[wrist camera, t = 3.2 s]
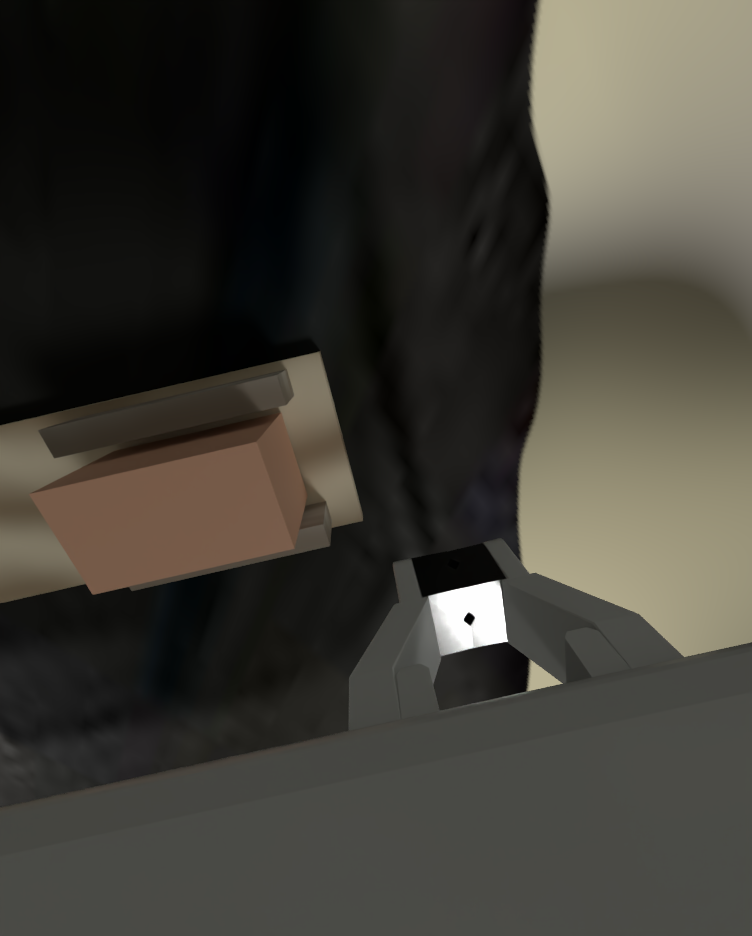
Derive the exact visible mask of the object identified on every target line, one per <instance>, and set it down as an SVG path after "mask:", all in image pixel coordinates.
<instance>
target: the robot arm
mask: <svg viewBox="0 0 752 936" xmlns="http://www.w3.org/2000/svg"><path fill="white" fill-rule="evenodd" d="M393 569H394V575H395V580H396V586H397V591H398V596H399V602H400V603H397V604H394V606H393V607H392V609H391V611H390V612H389V614H388V615H387V617H386V619H385V620H384V622H383V624H382V625H381V627H380V628H379V630H378V632H377V633H376V635H375V637H374V638H373V640H372V641H371V643H370V645H369V646H368V648H367V650H366V651H365V653H364V654H363V656H362V658H361V659H360V661H359V663H358V664H357V666H356V668H355V669H354V671H353V672H352V674H351V676H350V677H349V731H346V732H342V733H337V734H332V735H328V736H323V737H319V738H314V739H310V740H305V741H301V742H296V743H291V744H287V745H282V746H278V747H273V748H269V749H264V750H260V751H255V752H250V753H246V754H241V755H237V756H232V757H228V758H223V759H219V760H214V761H210V762H205V763H200V764H196V765H191V766H187V767H182V768H178V769H173V770H168V771H164V772H159V773H155V774H150V775H146V776H141V777H137V778H132V779H127V780H123V781H118V782H114V783H109V784H105V785H100V786H96V787H91V788H86V789H82V790H77V791H73V792H68V793H64V794H59V795H54V796H50V797H45V798H41V799H36V800H32V801H27V802H23V803H18V804H13V805H9V806H4V807H0V936H752V642H751V643H747V644H743V645H738V646H734V647H729V648H724V649H720V650H716V651H711V652H706V653H702V654H697V655H693V656H688V657H683V656H682V655H681V654H680V653H679V652H678V651H677V650H676V649H675V648H674V647H673V646H672V645H671V644H670V643H669V642H668V641H667V640H666V639H665V638H663V637H662V636H661V635H660V634H659V633H658V632H657V631H656V630H655V629H654V628H653V627H652V626H651V625H650V624H649V623H648V622H647V621H646V620H645V619H643V617H641V616H640V615H639V614H637V613H635V612H632V611H630V610H627V609H625V608H622V607H619V606H617V605H615V604H612V603H610V602H607V601H605V600H602V599H599V598H597V597H595V596H592V595H589V594H587V593H584V592H582V591H580V590H577V589H574V588H572V587H570V586H567V585H565V584H562V583H559V582H557V581H555V580H552V579H549V578H547V577H544V576H542V575H539V574H537V573H532V574H529V573H528V572H527V570H526V569H525V567H524V566H523V565H522V563H521V562H520V561H519V560H518V558H517V557H516V556H515V554H514V553H513V552H512V551H511V549H510V548H509V547H508V545H507V544H506V543H505V542H504V540H503V539H500V538H499V539H495V540H491V541H487V542H483V543H481V544H477V545H473V546H469V547H464V548H460V549H456V550H452V551H448V552H447V551H446V552H441V553H436V554H431V555H426V556H421V557H416V558H411V559H406V560H402V561H397V562H393ZM505 641H508V643H509V644H511V645H512V646H513V647H515V648H516V649H517V650H519V651H520V652H521V653H523V654H524V655H525V656H527V657H528V658H529V659H531V660H532V661H533V662H535V663H536V664H537V665H539V666H540V667H542V668H543V669H544V670H546V671H547V672H548V673H550V674H551V675H552V676H554V677H555V678H556V679H558V680H559V681H560V682H562V683H563V684H560V685H555V686H550V687H546V688H541V689H537V690H532V691H528V692H523V693H519V694H514V695H510V696H505V697H501V698H496V699H492V700H487V701H482V702H478V703H473V704H469V705H464V706H460V707H455V708H451V709H446V710H442V711H439V707H438V703H437V699H436V695H435V691H434V687H433V683H434V680H435V676H436V673H437V670H438V666H439V663H440V660H441V656H442V655H446V654H450V653H454V652H458V651H462V650H466V649H470V648H474V647H479V646H484V645H490V644H495V643H500V642H505Z"/></svg>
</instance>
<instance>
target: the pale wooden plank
mask: <svg viewBox="0 0 752 936" xmlns="http://www.w3.org/2000/svg"><path fill="white" fill-rule="evenodd" d="M276 413H282V416H283V420H284V423H285V426H286V429H287V432H288V435H289V439H290V442H291V445H292V448H293V451H294V454H295V457H296V461H297V464H298V467H299V470H300V473H301V476H302V479H303V483H304V486H305V489H306V492H307V495H308V496H307V500H306V504H305V508H304V512H303V517H302V521H301V525H300V529H299V533H298V537H297V541H296V545H295V549H291V550H287V551H283V552H278V553H274V554H269V555H265V556H261V557H256V558H252V559H247V560H243V561H239V562H234V563H230V564H225V565H221V566H217V567H212V568H208V569H203V570H199V571H195V572H190V573H186V574H181V575H177V576H173V577H168V578H164V579H160V580H155V581H151V582H146V583H142V584H138V585H133V586H129V587H130V589H131V591H134V590H138V589H143V588H147V587H151V586H156V585H160V584H165V583H169V582H173V581H178V580H182V579H187V578H191V577H195V576H200V575H204V574H209V573H213V572H217V571H222V570H226V569H231V568H235V567H239V566H244V565H248V564H253V563H257V562H261V561H266V560H270V559H275V558H279V557H283V556H288V555H292V554H297V553H301V552H305V551H310V550H314V549H318V548H323V547H327V546H330V539H331V528H332V527H337V526H341V525H346V524H350V523H354V522H359V521H363V514H362V510H361V506H360V502H359V498H358V494H357V491H356V487H355V483H354V479H353V475H352V471H351V468H350V464H349V460H348V456H347V452H346V448H345V444H344V441H343V437H342V433H341V429H340V425H339V421H338V418H337V414H336V410H335V406H334V402H333V398H332V394H331V391H330V387H329V383H328V379H327V375H326V371H325V368H324V364H323V360H322V356H321V352H320V351H319V352H315V353H311V354H306V355H302V356H298V357H293V358H289V359H285V360H280V361H276V362H272V363H267V364H263V365H259V366H255V367H250V368H246V369H242V370H237V371H233V372H229V373H224V374H220V375H216V376H211V377H207V378H203V379H198V380H194V381H190V382H185V383H181V384H177V385H172V386H168V387H164V388H159V389H155V390H151V391H146V392H142V393H138V394H134V395H129V396H125V397H121V398H116V399H112V400H108V401H103V402H99V403H95V404H90V405H86V406H82V407H77V408H73V409H69V410H64V411H60V412H56V413H51V414H47V415H43V416H38V417H34V418H30V419H26V420H21V421H17V422H13V423H8V424H4V425H0V603H3V602H7V601H12V600H16V599H21V598H25V597H29V596H34V595H38V594H43V593H47V592H51V591H56V590H60V589H65V588H69V587H73V586H78V585H82V584H86V583H85V582H84V580H83V578H82V577H81V575H80V574H79V572H78V571H77V569H76V567H75V566H74V564H73V563H72V561H71V560H70V558H69V556H68V555H67V553H66V552H65V550H64V549H63V547H62V545H61V544H60V542H59V541H58V539H57V538H56V536H55V535H54V533H53V531H52V530H51V528H50V527H49V525H48V524H47V522H46V520H45V519H44V517H43V516H42V514H41V513H40V511H39V509H38V508H37V506H36V505H35V503H34V502H33V500H32V498H31V497H30V495H29V494H30V493H32V492H34V491H36V490H38V489H40V488H42V487H44V486H46V485H48V484H50V483H52V482H54V481H56V480H58V479H60V478H62V477H64V476H66V475H68V474H70V473H72V472H74V471H76V470H78V469H80V468H81V467H83V466H85V465H87V464H89V463H91V462H93V461H95V460H97V459H99V458H101V457H103V456H105V455H107V454H109V453H111V452H113V451H116V450H120V449H125V448H129V447H133V446H138V445H142V444H146V443H151V442H155V441H159V440H164V439H168V438H172V437H177V436H181V435H185V434H190V433H194V432H198V431H203V430H207V429H211V428H216V427H220V426H224V425H229V424H233V423H237V422H242V421H246V420H250V419H255V418H259V417H263V416H268V415H272V414H276Z"/></svg>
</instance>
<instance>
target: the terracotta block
mask: <svg viewBox="0 0 752 936" xmlns="http://www.w3.org/2000/svg"><path fill="white" fill-rule="evenodd" d="M29 495H30V497H31V498H32V500H33V502H34V503H35V505H36V506H37V508H38V509H39V511H40V513H41V514H42V516H43V517H44V519H45V520H46V522H47V524H48V525H49V527H50V528H51V530H52V531H53V533H54V535H55V536H56V538H57V539H58V541H59V542H60V544H61V545H62V547H63V549H64V550H65V552H66V553H67V555H68V556H69V558H70V560H71V561H72V563H73V564H74V566H75V567H76V569H77V571H78V572H79V574H80V575H81V577H82V578H83V580H84V582H85V583H86V585H87V586H88V588H89V589H90V591H91V593H92V594H93V595H94V594H98V593H102V592H107V591H111V590H116V589H120V588H124V587H129V586H133V585H138V584H142V583H146V582H151V581H155V580H160V579H164V578H168V577H173V576H177V575H181V574H186V573H190V572H195V571H199V570H203V569H208V568H212V567H217V566H221V565H225V564H230V563H234V562H239V561H243V560H247V559H252V558H256V557H261V556H265V555H269V554H274V553H278V552H283V551H287V550H291V549H295V545H296V541H297V537H298V533H299V529H300V525H301V521H302V517H303V512H304V508H305V504H306V500H307V496H308V495H307V492H306V489H305V486H304V483H303V479H302V476H301V473H300V470H299V467H298V464H297V461H296V457H295V454H294V451H293V448H292V445H291V442H290V439H289V435H288V432H287V429H286V426H285V423H284V420H283V416H282V413H276V414H272V415H268V416H263V417H259V418H255V419H250V420H246V421H242V422H237V423H233V424H229V425H224V426H220V427H216V428H211V429H207V430H203V431H198V432H194V433H190V434H185V435H181V436H177V437H172V438H168V439H164V440H159V441H155V442H151V443H146V444H142V445H138V446H133V447H129V448H125V449H120V450H116V451H113V452H111V453H109V454H107V455H105V456H103V457H101V458H99V459H97V460H95V461H93V462H91V463H89V464H87V465H85V466H83V467H81V468H80V469H78V470H76V471H74V472H72V473H70V474H68V475H66V476H64V477H62V478H60V479H58V480H56V481H54V482H52V483H50V484H48V485H46V486H44V487H42V488H40V489H38V490H36V491H34V492H32V493H30V494H29Z"/></svg>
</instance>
